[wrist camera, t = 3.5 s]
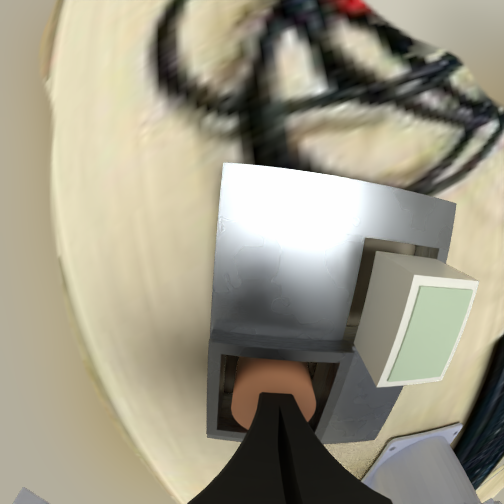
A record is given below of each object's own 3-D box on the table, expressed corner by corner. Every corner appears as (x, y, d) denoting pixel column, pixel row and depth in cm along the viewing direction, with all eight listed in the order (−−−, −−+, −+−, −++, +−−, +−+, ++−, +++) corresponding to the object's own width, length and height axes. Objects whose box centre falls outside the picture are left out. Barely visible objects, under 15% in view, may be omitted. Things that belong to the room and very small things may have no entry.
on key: (410, 343, 11) (442, 381, 8) (353, 343, 11) (377, 389, 8) (435, 258, 10) (480, 282, 7) (376, 250, 10) (415, 276, 7)
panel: (366, 419, 15) (378, 451, 12) (212, 414, 15) (204, 450, 12) (433, 199, 12) (469, 205, 9) (229, 166, 12) (219, 159, 9)
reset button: (299, 396, 14) (305, 435, 11) (234, 391, 14) (229, 430, 11) (313, 342, 13) (325, 380, 10) (239, 336, 13) (234, 374, 10)
